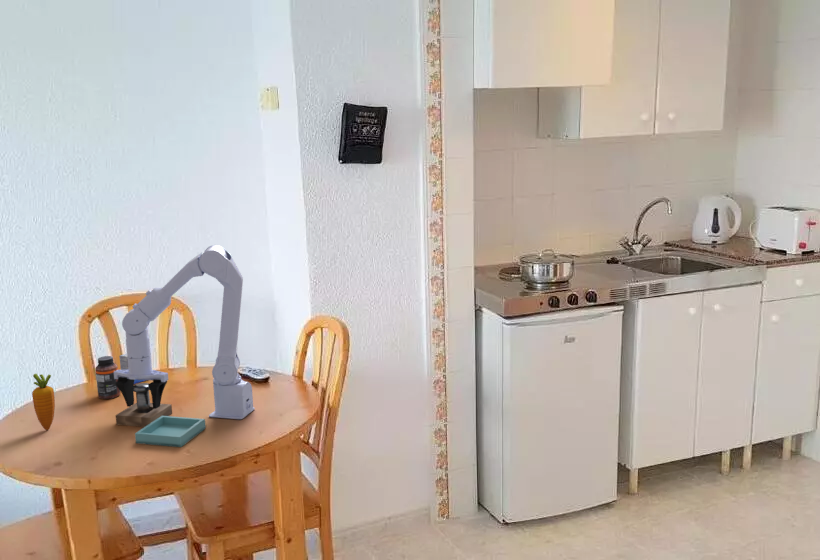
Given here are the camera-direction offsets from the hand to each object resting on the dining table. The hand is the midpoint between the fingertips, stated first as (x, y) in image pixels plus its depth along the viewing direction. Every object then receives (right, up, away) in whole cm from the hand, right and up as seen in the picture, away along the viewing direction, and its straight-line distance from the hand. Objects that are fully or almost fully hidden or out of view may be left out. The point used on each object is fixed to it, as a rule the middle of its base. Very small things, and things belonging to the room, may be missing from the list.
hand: (143, 406), depth 207 cm
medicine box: (-13, +2, +32) cm, 35 cm away
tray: (+10, -5, -11) cm, 16 cm away
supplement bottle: (-16, 0, +19) cm, 25 cm away
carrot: (-22, -5, -6) cm, 24 cm away
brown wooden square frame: (0, -3, +1) cm, 3 cm away
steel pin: (0, -3, +1) cm, 3 cm away
